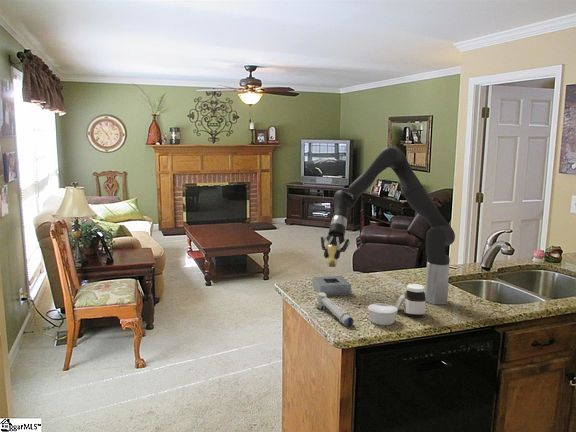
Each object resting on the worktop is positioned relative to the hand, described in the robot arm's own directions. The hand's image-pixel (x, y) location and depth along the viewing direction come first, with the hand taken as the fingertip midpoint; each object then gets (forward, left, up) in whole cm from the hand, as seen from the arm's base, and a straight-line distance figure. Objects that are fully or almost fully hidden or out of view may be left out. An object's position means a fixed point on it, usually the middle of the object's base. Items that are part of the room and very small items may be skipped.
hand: (331, 257), depth 217 cm
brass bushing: (+2, -1, -4) cm, 5 cm away
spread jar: (-31, -24, -16) cm, 43 cm away
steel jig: (+2, -1, -16) cm, 16 cm away
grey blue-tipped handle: (-29, +7, -16) cm, 34 cm away
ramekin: (-37, -10, -16) cm, 42 cm away
